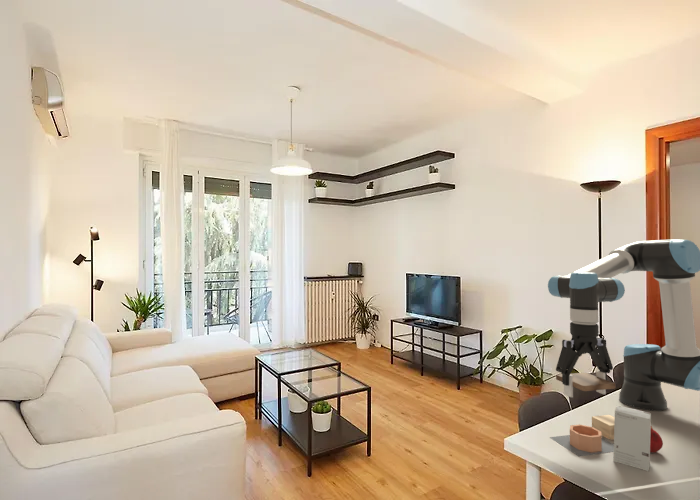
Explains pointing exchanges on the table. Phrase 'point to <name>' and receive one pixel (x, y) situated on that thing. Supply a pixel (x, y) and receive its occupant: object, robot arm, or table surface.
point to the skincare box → (632, 437)
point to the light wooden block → (604, 425)
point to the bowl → (585, 438)
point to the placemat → (565, 442)
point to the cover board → (588, 382)
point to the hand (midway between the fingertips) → (584, 394)
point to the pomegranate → (655, 441)
